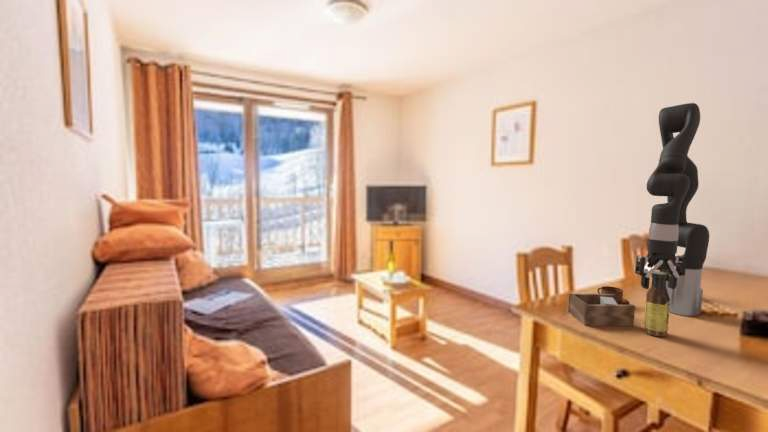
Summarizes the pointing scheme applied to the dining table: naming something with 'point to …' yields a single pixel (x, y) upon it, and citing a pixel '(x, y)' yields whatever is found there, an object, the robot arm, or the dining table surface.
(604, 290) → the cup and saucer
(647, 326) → the sauce bottle
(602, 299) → the offcut top
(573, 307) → the wooden box
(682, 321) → the dining table surface
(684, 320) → the dining table surface
